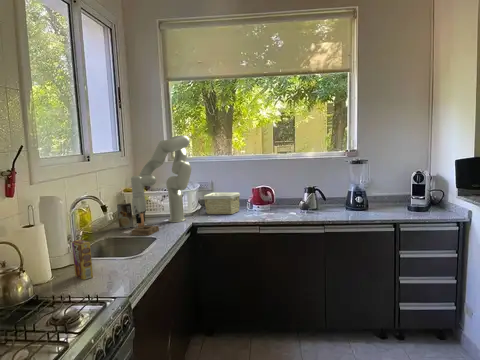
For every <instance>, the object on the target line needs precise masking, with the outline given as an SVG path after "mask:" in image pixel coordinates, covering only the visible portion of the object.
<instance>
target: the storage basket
mask: <svg viewBox="0 0 480 360" xmlns="http://www.w3.org/2000/svg"><path fill="white" fill-rule="evenodd" d="M240 196H241V193H240V192H230V191H229V192H210V193H207V194H204V196H203V200H204V204H205V205H204V206H205V212H206V214H207V215H233V214H235V213H238V212H239V211H240Z"/></svg>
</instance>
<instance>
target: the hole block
mask: <svg viewBox="0 0 480 360" xmlns="http://www.w3.org/2000/svg"><path fill="white" fill-rule="evenodd" d="M130 231H131V236H151V235H153V234H155V233H157V232H159V231H160V227H159V225H144V226H141V227H138V226H137V227H136V228H134V229H133V228H132V229H131V230H130Z"/></svg>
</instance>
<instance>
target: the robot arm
mask: <svg viewBox="0 0 480 360" xmlns="http://www.w3.org/2000/svg"><path fill="white" fill-rule="evenodd" d="M190 141H191V140H190V138H189V137H188V136H187V135H184V134H183V135H176V136H175V135H174V136H172V137H171V138H170V139H165V140H161V141H160V142H158V144H157V146H156V148H155V150H154V152H153V154H152V156H151V157H150V159H149V160H148V161H147V163H146V164H145V165H143V167H142V169H141V171H140V173H139V174H138V175H134V176H132V177H130V180H131V181H130V182H131V194H132V198H131V209H132V215H133V216H135V221H136V224H138V223H141V217H140V213H143V215H144V223H145V222H146V211H147V210H148V209H147V201H146V197H145V187H152V186H154V185H155V184H156V183H157V182H156V181H157V179H156V177H155V176H154V175H152V174H153V172H154V171H155V170H157V169H158V168H160V167H162V165H163V164H164V162H165V160H166V158H167V156H168V153H174V158H173V162H172V165H171V172H172V174H173V175H172V176H170V177H168V178H167V179H166V183H165V185H166V189H167V195H168V203H169V204H168V205H169V207H168V208H169V215H170V216H169V217H170V218H168V222H169V223H180V222H184V221H187V217H185V216H186V212H185V211H184V200H183V192H182V191H184V190H186V189H187V188H188V185H189V183H190V177H191V175H192V167H191V166H192V165H191V164H190V163H189V161H187V159H188V158H187V156H188V152H187V149H186V148H187V147H189V145H190V143H191V142H190Z"/></svg>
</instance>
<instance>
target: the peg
mask: <svg viewBox="0 0 480 360" xmlns="http://www.w3.org/2000/svg"><path fill="white" fill-rule="evenodd" d="M144 216H145V215H143V213H140V217H141V223H137V228H138V227H141V226H145V222H144Z"/></svg>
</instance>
